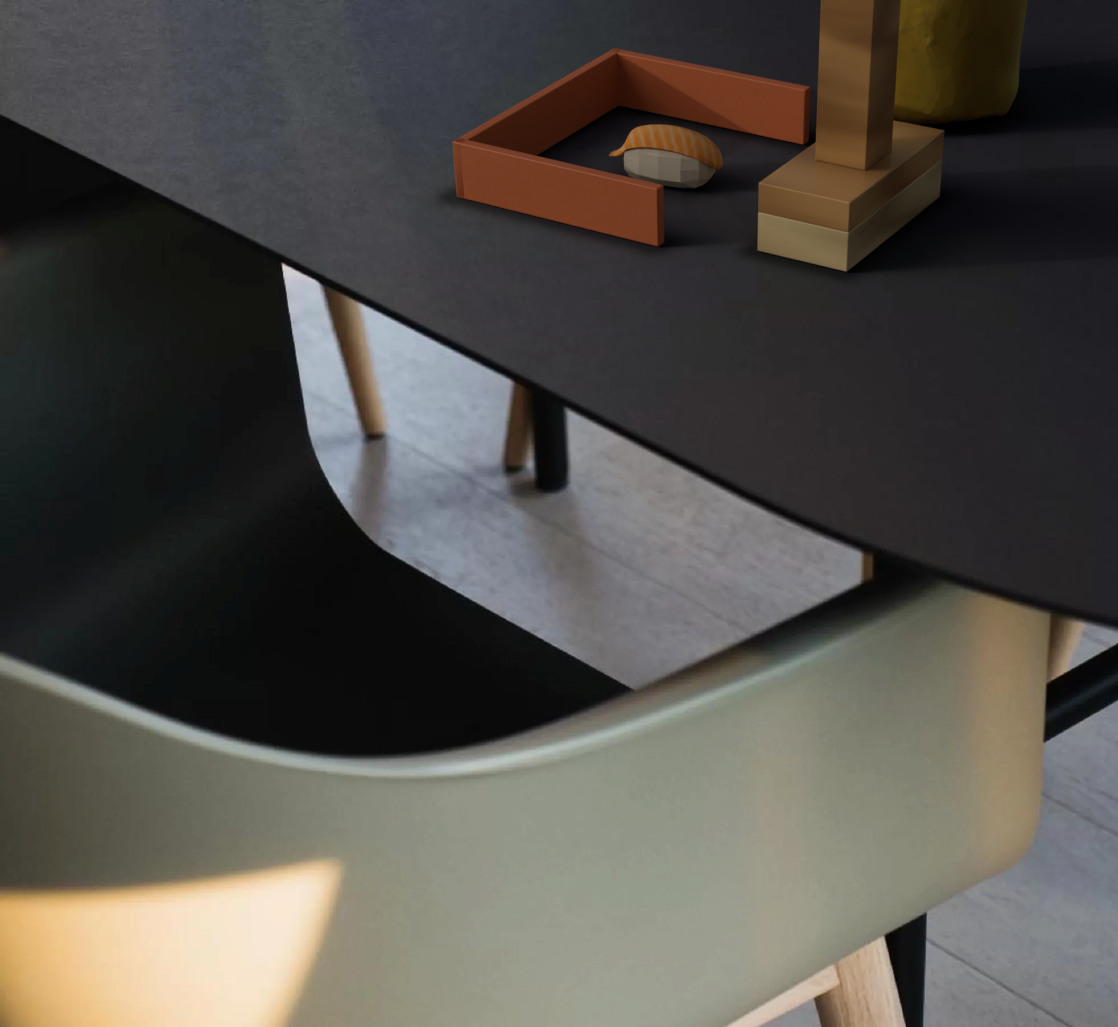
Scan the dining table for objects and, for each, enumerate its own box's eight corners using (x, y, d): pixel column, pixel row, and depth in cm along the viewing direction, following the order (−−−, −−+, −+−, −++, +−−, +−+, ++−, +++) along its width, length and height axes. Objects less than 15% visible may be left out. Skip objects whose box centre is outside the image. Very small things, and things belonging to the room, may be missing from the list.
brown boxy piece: (853, 178, 107) (868, -138, 97) (940, 197, 105) (965, -125, 95) (757, 251, 101) (762, -79, 91) (846, 272, 99) (863, -64, 89)
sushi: (712, 198, 106) (713, 141, 104) (600, 182, 108) (598, 126, 106) (731, 179, 108) (732, 123, 106) (620, 163, 110) (619, 108, 108)
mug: (1032, 119, 107) (998, -83, 104) (847, 160, 112) (808, -31, 108) (1080, 82, 117) (1050, -103, 113) (908, 122, 122) (874, -55, 118)
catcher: (809, 141, 111) (811, 86, 109) (658, 247, 102) (657, 189, 100) (615, 100, 117) (614, 47, 115) (456, 197, 108) (451, 141, 106)
